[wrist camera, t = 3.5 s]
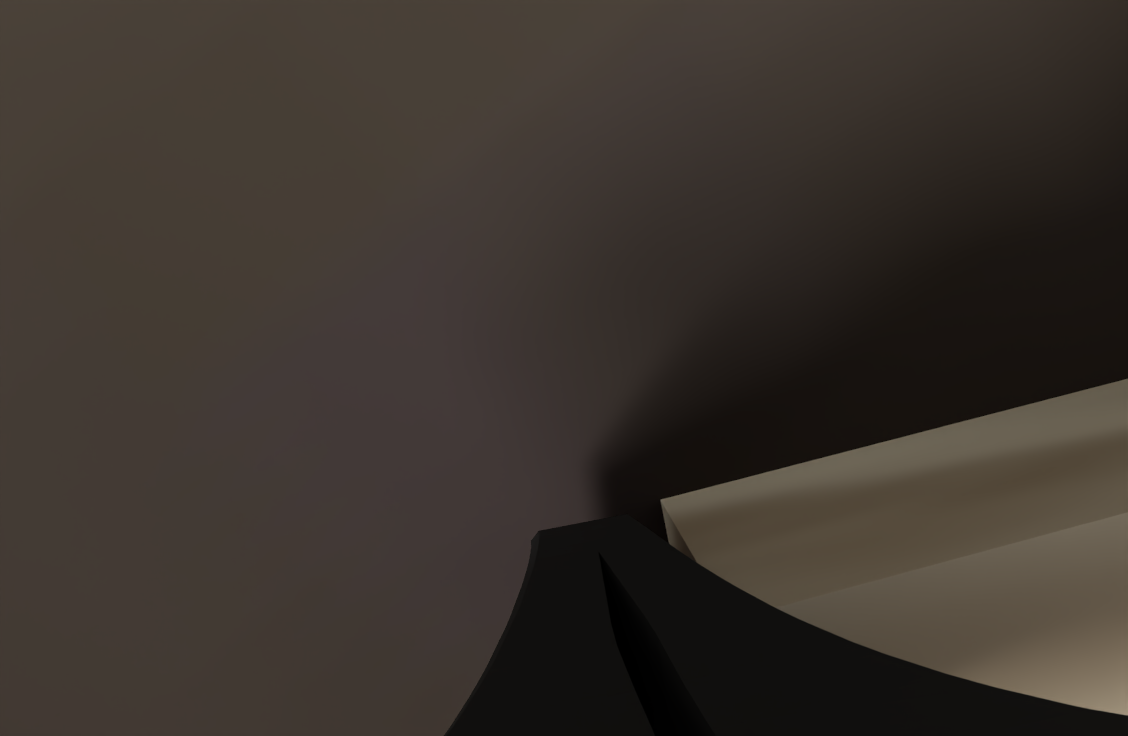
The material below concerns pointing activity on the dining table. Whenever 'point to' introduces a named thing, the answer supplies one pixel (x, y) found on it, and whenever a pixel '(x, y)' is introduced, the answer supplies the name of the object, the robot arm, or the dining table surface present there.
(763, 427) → the dining table surface
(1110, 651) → the slat
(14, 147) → the dining table surface
